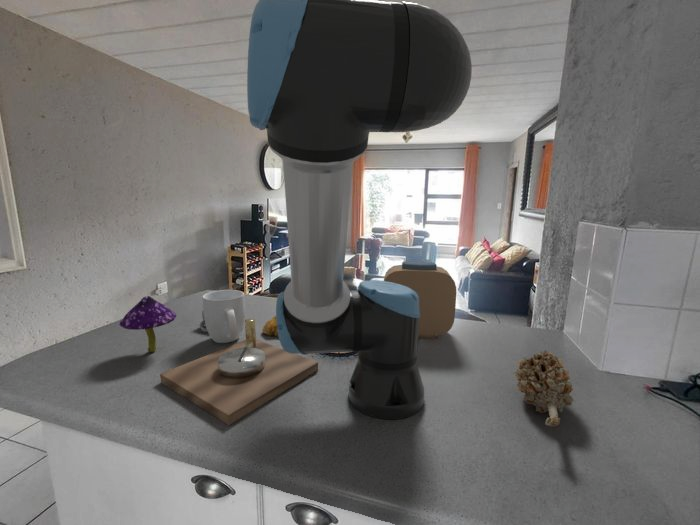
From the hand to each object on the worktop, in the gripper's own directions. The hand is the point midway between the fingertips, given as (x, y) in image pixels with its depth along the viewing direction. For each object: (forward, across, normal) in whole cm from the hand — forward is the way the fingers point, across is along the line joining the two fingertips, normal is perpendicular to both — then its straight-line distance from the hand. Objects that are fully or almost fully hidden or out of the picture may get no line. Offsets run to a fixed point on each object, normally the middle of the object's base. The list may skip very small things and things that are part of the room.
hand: (316, 252), depth 86 cm
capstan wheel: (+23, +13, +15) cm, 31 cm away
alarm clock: (+26, -27, -15) cm, 40 cm away
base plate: (+26, +12, +18) cm, 34 cm away
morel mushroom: (+26, -50, +21) cm, 60 cm away
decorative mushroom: (+26, +41, +12) cm, 50 cm away
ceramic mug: (+26, +35, -8) cm, 44 cm away
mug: (+26, +26, +1) cm, 37 cm away
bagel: (+26, +14, -8) cm, 31 cm away
